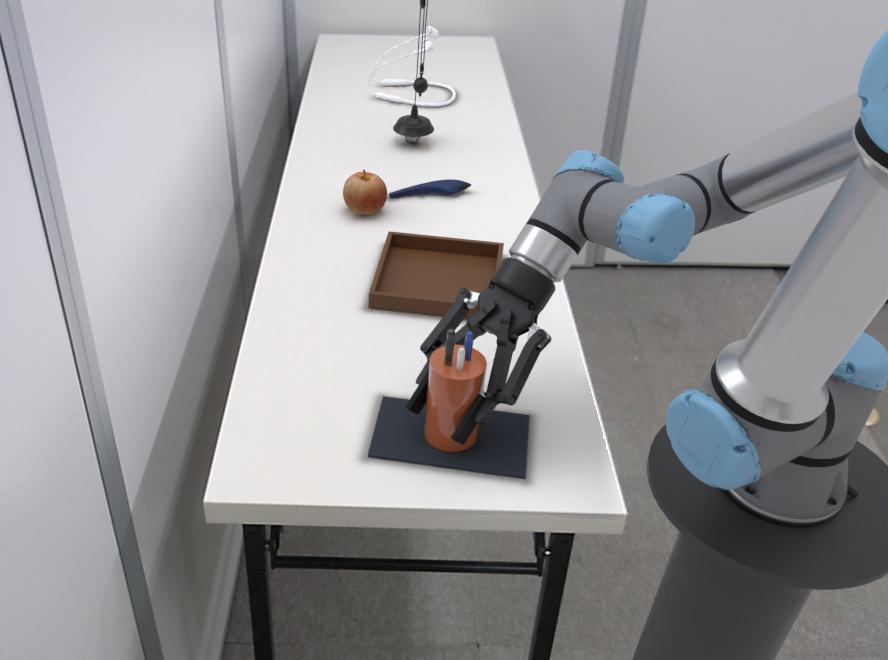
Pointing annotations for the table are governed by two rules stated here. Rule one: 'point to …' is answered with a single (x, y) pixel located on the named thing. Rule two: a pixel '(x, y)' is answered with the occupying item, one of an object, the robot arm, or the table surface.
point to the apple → (364, 193)
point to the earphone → (428, 48)
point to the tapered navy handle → (433, 188)
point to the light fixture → (414, 122)
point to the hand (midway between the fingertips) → (434, 425)
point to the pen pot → (452, 391)
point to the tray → (431, 272)
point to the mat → (490, 454)
